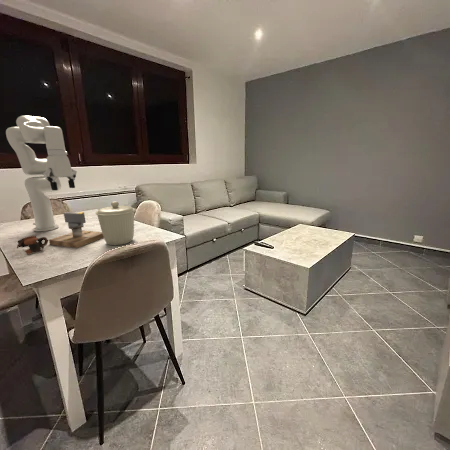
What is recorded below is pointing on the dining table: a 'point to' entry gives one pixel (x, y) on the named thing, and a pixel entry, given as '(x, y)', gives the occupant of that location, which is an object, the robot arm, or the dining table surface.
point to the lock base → (76, 238)
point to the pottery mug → (32, 244)
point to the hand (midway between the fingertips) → (63, 189)
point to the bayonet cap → (75, 219)
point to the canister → (116, 223)
